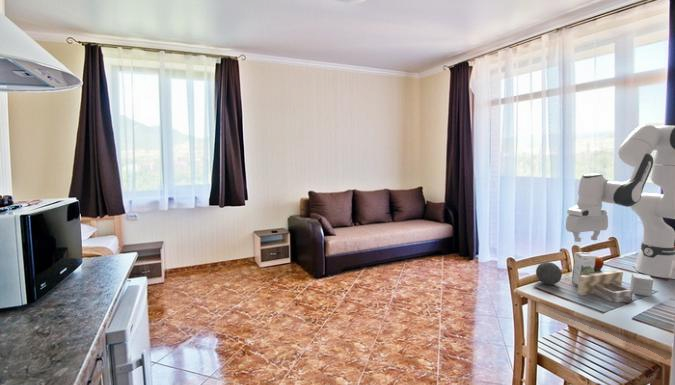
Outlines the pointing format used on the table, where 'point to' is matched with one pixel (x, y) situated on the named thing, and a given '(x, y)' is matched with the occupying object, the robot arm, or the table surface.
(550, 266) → the decorative ball
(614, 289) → the wooden table
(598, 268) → the fruit
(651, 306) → the table surface
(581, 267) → the syrup box
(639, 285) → the product box
